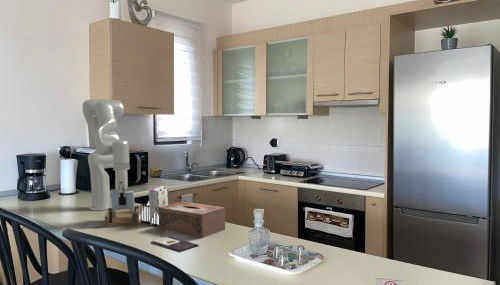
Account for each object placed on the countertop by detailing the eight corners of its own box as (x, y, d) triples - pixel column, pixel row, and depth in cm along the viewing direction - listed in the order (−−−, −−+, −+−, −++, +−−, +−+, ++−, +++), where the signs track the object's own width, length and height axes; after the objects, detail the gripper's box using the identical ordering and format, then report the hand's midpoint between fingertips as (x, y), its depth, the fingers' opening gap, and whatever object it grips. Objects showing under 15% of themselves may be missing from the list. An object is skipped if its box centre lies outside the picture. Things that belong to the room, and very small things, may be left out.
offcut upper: (115, 215, 193) (114, 210, 193) (129, 214, 196) (128, 208, 196) (115, 217, 190) (115, 212, 190) (130, 215, 193) (129, 210, 193)
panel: (113, 220, 199) (112, 192, 198) (134, 219, 201) (133, 190, 200) (112, 222, 196) (111, 193, 195) (134, 221, 198) (133, 192, 197)
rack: (109, 220, 201) (108, 207, 201) (139, 217, 204) (139, 205, 204) (105, 227, 187) (104, 214, 187) (137, 225, 190) (137, 212, 190)
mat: (85, 222, 197) (85, 221, 197) (108, 220, 199) (108, 220, 199) (81, 228, 187) (81, 227, 187) (105, 226, 189) (105, 225, 189)
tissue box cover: (159, 229, 182) (158, 207, 182) (182, 222, 194) (182, 201, 194) (202, 238, 167) (202, 214, 167) (225, 230, 179) (224, 207, 179)
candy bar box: (159, 219, 200) (158, 186, 198) (169, 219, 199) (168, 186, 197) (149, 225, 189) (148, 190, 188) (159, 226, 188) (158, 190, 187)
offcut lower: (113, 224, 194) (112, 215, 194) (133, 222, 196) (132, 214, 196) (112, 226, 190) (112, 217, 190) (132, 224, 192) (132, 216, 192)
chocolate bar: (180, 250, 150) (150, 241, 162) (180, 253, 150) (151, 244, 162) (198, 244, 157) (169, 236, 169) (198, 247, 157) (169, 238, 169)
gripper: (115, 164, 204) (116, 201, 206) (111, 168, 188) (112, 208, 189) (130, 164, 206) (132, 200, 207) (128, 168, 190) (129, 207, 191)
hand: (123, 203), depth 198 cm, fingers open, 3 cm apart
